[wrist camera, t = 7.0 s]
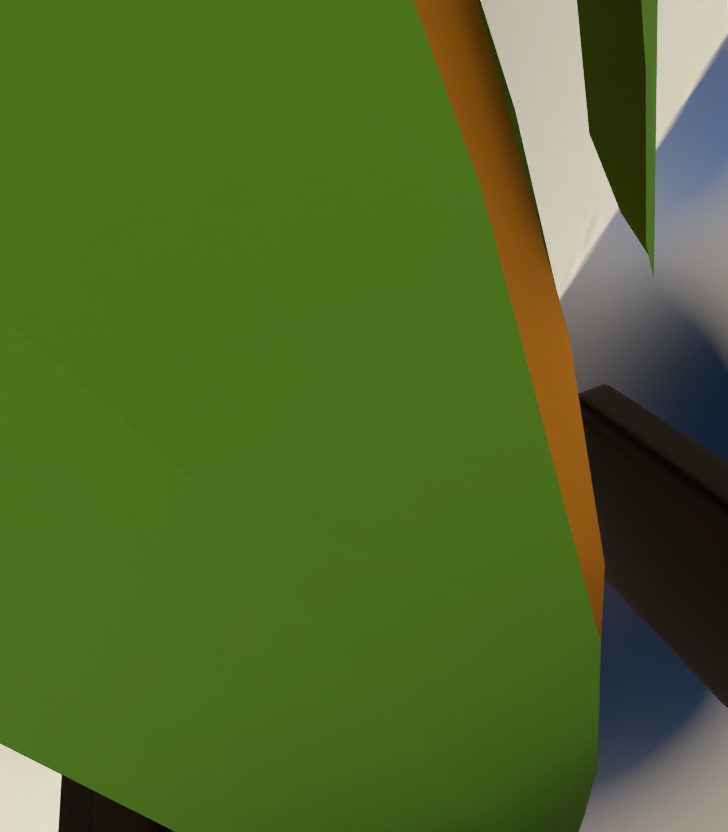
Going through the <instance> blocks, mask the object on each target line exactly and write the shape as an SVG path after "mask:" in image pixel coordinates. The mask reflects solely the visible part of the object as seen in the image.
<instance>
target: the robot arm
mask: <svg viewBox="0 0 728 832" xmlns="http://www.w3.org/2000/svg"><path fill="white" fill-rule="evenodd" d="M578 397H579V403H580V409H581V416H582V422H583V429H584V435H585V441H586V448H587V454H588V460H589V467H590V473H591V480H592V486H593V492H594V499H595V505H596V512H597V518H598V524H599V531H600V537H601V544H602V550H603V556H604V563H605V571H604V580H605V581H606V582H607V583H608V584H609V585H610V586H611V587H612V588H613V589H614V590H615V591H616V592H617V594H618V595H619V596H620V597H621V598H622V599H623V600H624V601H625V602H626V603H627V604H628V605H629V606H630V607H631V608H632V609H633V610H634V611H635V612H636V613H637V615H638V616H639V617H640V618H641V619H642V620H643V621H644V622H645V623H646V624H647V625H648V626H649V627H650V628H651V629H652V630H653V631H654V632H655V633H656V634H657V635H658V637H659V638H660V639H661V640H662V641H663V642H664V643H665V644H666V645H667V646H668V647H669V648H670V649H671V650H672V651H673V652H674V653H675V654H676V655H677V656H678V658H680V659H681V660H682V662H683V663H684V664H685V665H686V666H687V667H688V668H689V669H690V670H691V671H692V672H693V673H694V674H695V675H696V676H697V677H698V678H699V680H700V681H701V682H702V683H703V684H704V685H705V686H706V687H707V688H708V689H709V690H710V691H711V692H712V693H713V694H714V695H715V696H716V697H717V698H718V699H719V700H720V701H721V702H722V703H723V704H724V705H725V706H726V707H728V463H727V462H726V461H724V460H723V459H721V458H720V457H718V456H716V455H715V454H713V453H712V452H710V451H709V450H707V449H706V448H704V447H702V446H701V445H700V444H698V443H696V442H695V441H693V440H692V439H690V438H689V437H687V436H686V435H684V434H683V433H681V432H680V431H678V430H676V429H675V428H674V427H672V426H670V425H669V424H667V423H666V422H664V421H663V420H661V419H660V418H658V417H657V416H655V415H654V414H652V413H650V412H649V411H647V410H646V409H644V408H643V407H641V406H640V405H638V404H637V403H635V402H634V401H632V400H631V399H629V398H627V397H626V396H624V395H623V394H621V393H620V392H618V391H617V390H615V389H613V388H612V387H610V386H608V385H606V384H605V385H599V386H597V387H594V388H592V389H589V390H586V391H584V392H581V393H578ZM59 832H175V831H173V830H171V829H169V828H167V827H165V826H163V825H161V824H159V823H157V822H155V821H153V820H151V819H149V818H147V817H145V816H143V815H141V814H139V813H137V812H135V811H133V810H131V809H129V808H127V807H125V806H123V805H121V804H119V803H117V802H115V801H113V800H111V799H109V798H107V797H105V796H103V795H101V794H99V793H97V792H95V791H93V790H92V789H90V788H88V787H86V786H84V785H82V784H80V783H78V782H76V781H74V780H72V779H70V778H68V777H66V776H64V775H62V783H61V800H60V817H59Z"/></svg>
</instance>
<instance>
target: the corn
mask: <svg viewBox="0 0 728 832" xmlns="http://www.w3.org/2000/svg"><path fill="white" fill-rule="evenodd" d="M577 4H578V15H579V26H580V36H581V47H582V58H583V68H584V79H585V90H586V101H587V111H588V122H589V133H590V136H591V138H592V141H593V143H594V146H595V148H596V151H597V153H598V156H599V158H600V161H601V163H602V166H603V168H604V171H605V173H606V176H607V178H608V181H609V183H610V186H611V188H612V191H613V193H614V196H615V198H616V201H617V203H618V206H619V209H620V211H621V213H622V215H623V216H624V218H625V219H626V221H627V223H628V224H629V225H630V227H631V229H632V230H633V232H634V233H635V235H636V236H637V238H638V239H639V241H640V242H641V244H642V245H643V247H644V249H645V250H646V252H647V253H648V255H649V259H650V263H651V269H652V273H653V276H654V215H655V210H654V209H655V143H656V70H657V0H577ZM604 571H605V563H604V556H603V550H602V544H601V537H600V531H599V524H598V518H597V512H596V505H595V499H594V492H593V486H592V480H591V473H590V467H589V460H588V454H587V448H586V441H585V435H584V429H583V422H582V416H581V409H580V403H579V397H578V390H577V384H576V378H575V371H574V365H573V358H572V352H571V345H570V339H569V335H568V331H567V327H566V323H565V320H564V316H563V313H562V309H561V305H560V301H559V298H558V294H557V290H556V287H555V282H554V278H553V274H552V269H551V265H550V261H549V256H548V252H547V248H546V243H545V239H544V235H543V230H542V226H541V222H540V217H539V213H538V208H537V204H536V200H535V195H534V191H533V187H532V182H531V178H530V174H529V169H528V165H527V161H526V156H525V152H524V148H523V143H522V139H521V135H520V130H519V126H518V121H517V117H516V113H515V109H514V106H513V103H512V99H511V96H510V93H509V90H508V87H507V84H506V80H505V77H504V74H503V71H502V68H501V65H500V62H499V58H498V55H497V52H496V49H495V46H494V43H493V40H492V36H491V33H490V30H489V27H488V24H487V21H486V18H485V14H484V11H483V8H482V5H481V2H480V0H0V743H1V744H2V745H4V746H6V747H8V748H10V749H12V750H14V751H16V752H18V753H20V754H22V755H24V756H26V757H28V758H30V759H32V760H34V761H36V762H38V763H40V764H42V765H44V766H46V767H48V768H50V769H52V770H54V771H56V772H58V773H60V774H62V775H64V776H66V777H68V778H70V779H72V780H74V781H76V782H78V783H80V784H82V785H84V786H86V787H88V788H90V789H92V790H93V791H95V792H97V793H99V794H101V795H103V796H105V797H107V798H109V799H111V800H113V801H115V802H117V803H119V804H121V805H123V806H125V807H127V808H129V809H131V810H133V811H135V812H137V813H139V814H141V815H143V816H145V817H147V818H149V819H151V820H153V821H155V822H157V823H159V824H161V825H163V826H165V827H167V828H169V829H171V830H173V831H175V832H579V829H580V826H581V823H582V821H583V818H584V815H585V811H586V807H587V804H588V801H589V797H590V793H591V790H592V786H593V783H594V779H595V776H596V772H597V758H598V722H599V688H600V686H599V685H600V651H601V629H602V610H603V589H604Z"/></svg>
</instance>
